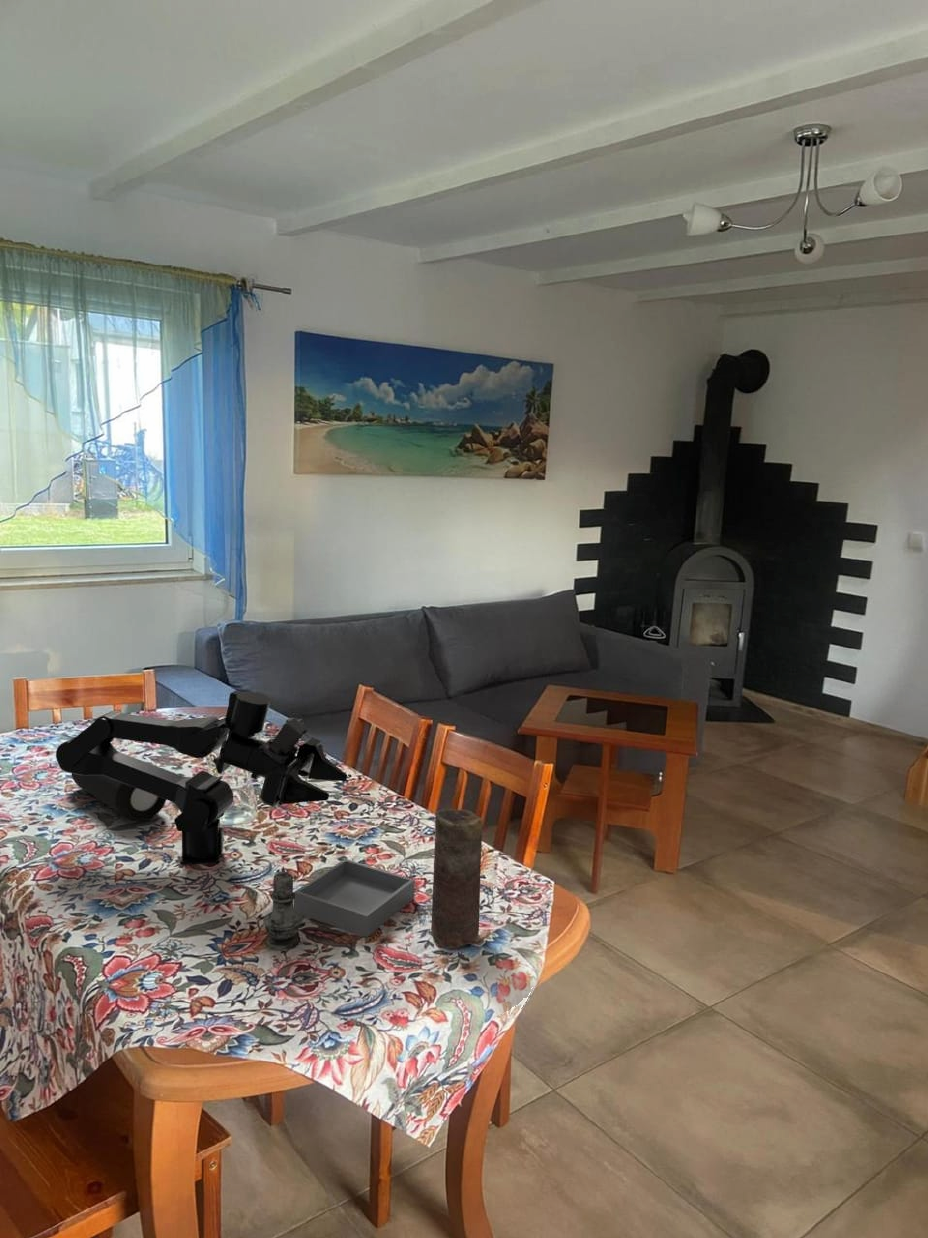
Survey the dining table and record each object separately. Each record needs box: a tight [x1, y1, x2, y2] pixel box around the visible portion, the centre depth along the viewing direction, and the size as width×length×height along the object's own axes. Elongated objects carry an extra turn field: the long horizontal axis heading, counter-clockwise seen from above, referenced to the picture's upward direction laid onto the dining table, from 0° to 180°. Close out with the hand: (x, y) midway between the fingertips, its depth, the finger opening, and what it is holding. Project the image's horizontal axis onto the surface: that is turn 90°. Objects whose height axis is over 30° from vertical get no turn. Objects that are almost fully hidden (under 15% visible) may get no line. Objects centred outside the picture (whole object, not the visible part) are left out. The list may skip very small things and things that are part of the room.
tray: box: [293, 858, 416, 938], centre depth 146 cm, size 14×14×4 cm
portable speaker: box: [70, 773, 167, 821], centre depth 182 cm, size 26×10×10 cm, turn 46°
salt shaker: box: [262, 866, 304, 952], centre depth 134 cm, size 6×6×12 cm
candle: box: [430, 808, 483, 949], centre depth 136 cm, size 8×7×20 cm
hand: (337, 787), depth 153 cm, fingers open, 9 cm apart
